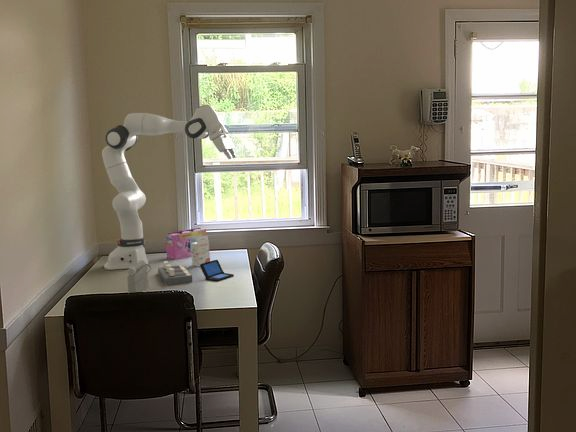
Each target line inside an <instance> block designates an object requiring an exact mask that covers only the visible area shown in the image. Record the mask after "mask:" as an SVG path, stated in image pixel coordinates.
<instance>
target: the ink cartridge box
mask: <svg viewBox="0 0 576 432" xmlns="http://www.w3.org/2000/svg"><path fill="white" fill-rule="evenodd" d="M202 238H203V239H204V240H201V239H202ZM209 241H210V240H209V236H208V235H206V236H203V237H199V238H197V242H194V243H191V252H192V256H191V262H192V266H196V267H200V264H203V263H206V262H210V261H211V256H210V242H209Z"/></svg>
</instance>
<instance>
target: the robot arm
mask: <svg viewBox="0 0 576 432" xmlns="http://www.w3.org/2000/svg"><path fill="white" fill-rule="evenodd" d="M172 133H173V134H176V133H177V134H185V135H186V136H187V137H188V138H189V139H192V140H193V139H195V140H197V139H201V140H203V139H207V138H209V140H210V141H211V142H212V143H213V145H214V146H215V147H216V149H217V151H218V152H219V153H223V154H224V155H225V156H226V157H227V159H228V160H231V159H236V158H237V154H236V153H235V150H234V149H235V148H236V147H235V145H234V143H233V142H232V139H231V138H230V137H229V136H228V133H229V131H228V130H227V128H226V127H225V125H224V124H223V122H222V121H221V120H220V116H219V115H218V113H217V112H216V111H215V109H214V107H213V106H212V105H210V104H203V105H200V106H198V107H197V108H196V109H195V111H194V114H193V115H192V117H191V118H190V119H189V121H188V120H187V121H186V120H175V119H171V118H169V117H165V116H162V115H158V114H154V113H147V112H133V113H129V114H127V115H126V116H125V118H124V121H123V124H118V125H117V126H114V127H113V128H111V129H110V130H108V131H107V132H106V135H105V141H106V142H105V143H106V144H107V146H105V147H104V148H102V150H101V156H102V161H103V165H104V168H105V171H106V173H107V176H108V178H109V181H110V184H111V186H113V187H114V188H115V189H116V191H117V192H118V193H117V195H115V196H114V197H113V199H112V202H111V204H112V205H111V206H112V208H113V210H114V211H115V212H116V215H117V219H118V220H119V221H118V222H119V226H120V236H121V238H117V239H116V241H115V242H116V243H117V247H116V248H114V250H112V251H111V252H110V253H109V255H108V259H107V262H106V263H104V265H103V268H104V270H108V271H109V270H110V271H111V270H123V269H130V268H131V267H134V265H136V264H137V263H139V262H140V261H141V260H143V261H144V262H145V264H148V265H149V260H148V258H147V254H146V249H145V247H146V241H145V237H144V231H143V230H144V229H143V221H142V220H141V219H140V216H139V212H138V210H140V209H141V208H143V207H144V206H145V204H146V201H147V196H146V195H145V193H144V192H143V191H142V189H140V187H139V186H138V184H137V183H136V181H135V179H134V177H133V175H132V173H131V170H130V167H129V165H128V162H127V160H126V157H125V152H127V151H129V150H130V149H132V147H134V146H135V145H136V144H137V143H138V138H139V136H140V135H142V136H160V135H165V134H166V135H167V134H172ZM138 135H139V136H138ZM145 264H144V265H143V266H146V265H145Z"/></svg>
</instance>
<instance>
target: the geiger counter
mask: <svg viewBox="0 0 576 432" xmlns="http://www.w3.org/2000/svg"><path fill="white" fill-rule="evenodd" d="M144 264H145V262H144V261H143V260H141V261H140V262H139V263H137V264H136V265H134V267H131V268H128V270H127V277H126V278H127V289H128V293H129V292H143V291H146V290H147V289H148V288H149V289H150V284H149V273H150V272H151V271H152V266H151V265H149V263H148V264H145V265H144ZM148 267H149V268H150V269H149V270H148Z"/></svg>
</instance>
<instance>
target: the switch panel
mask: <svg viewBox="0 0 576 432" xmlns="http://www.w3.org/2000/svg"><path fill="white" fill-rule="evenodd" d="M171 268H174V274H175V276H170V275H169V272H167V271H166V269H164V266H163V267H162V266H161V267H158V268H157V274H158V276H159V277H160V279H161V280H162V281H163V283H164V284H165V286H171V285H179V284H187V283H193V275H192V273H191V272H190V271H189V270H188V269H187V268H186V267H185V266H184V264H180V265H178V264H177V265H171Z"/></svg>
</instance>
